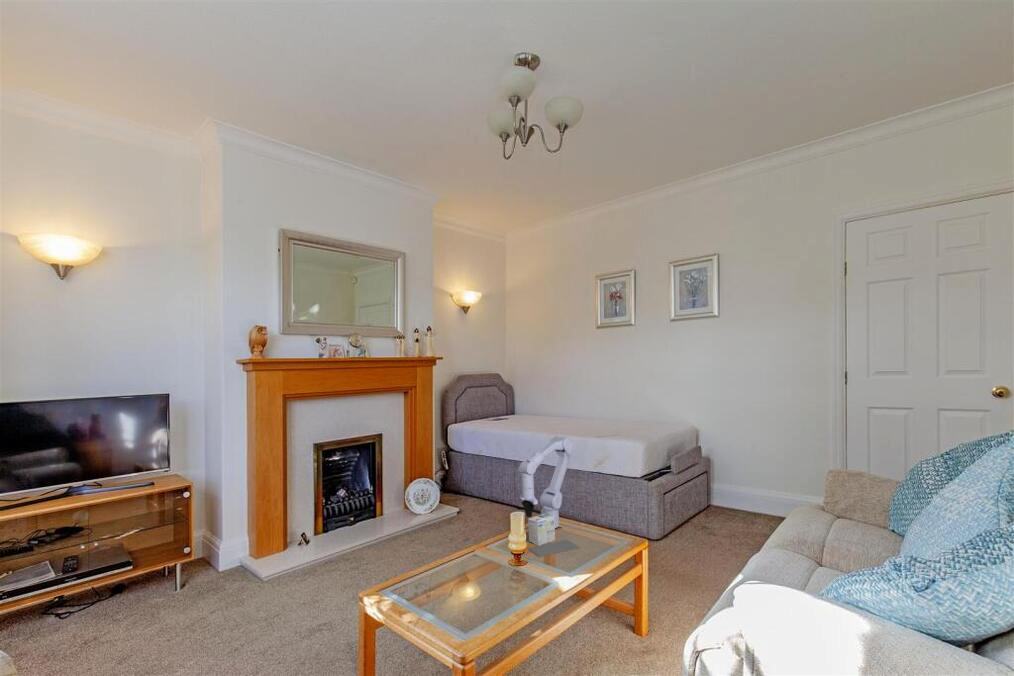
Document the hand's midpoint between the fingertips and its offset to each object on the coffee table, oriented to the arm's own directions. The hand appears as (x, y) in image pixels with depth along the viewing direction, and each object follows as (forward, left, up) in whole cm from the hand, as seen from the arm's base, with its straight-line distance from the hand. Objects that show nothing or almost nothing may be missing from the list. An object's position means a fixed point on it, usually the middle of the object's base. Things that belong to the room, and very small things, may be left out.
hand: (529, 516), depth 226 cm
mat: (+22, 0, -8) cm, 23 cm away
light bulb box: (+12, 0, -8) cm, 14 cm away
